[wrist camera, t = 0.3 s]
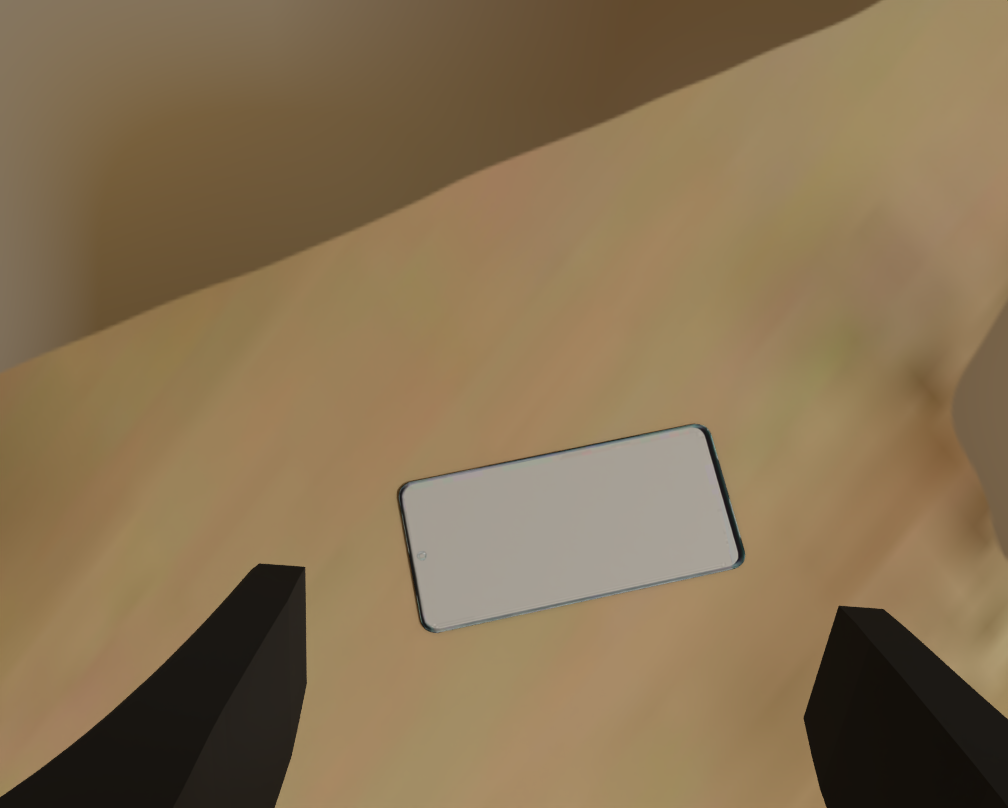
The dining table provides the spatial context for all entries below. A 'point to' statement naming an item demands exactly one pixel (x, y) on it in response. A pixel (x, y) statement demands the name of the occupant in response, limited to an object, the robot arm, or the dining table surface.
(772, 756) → the dining table surface
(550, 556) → the smartphone
